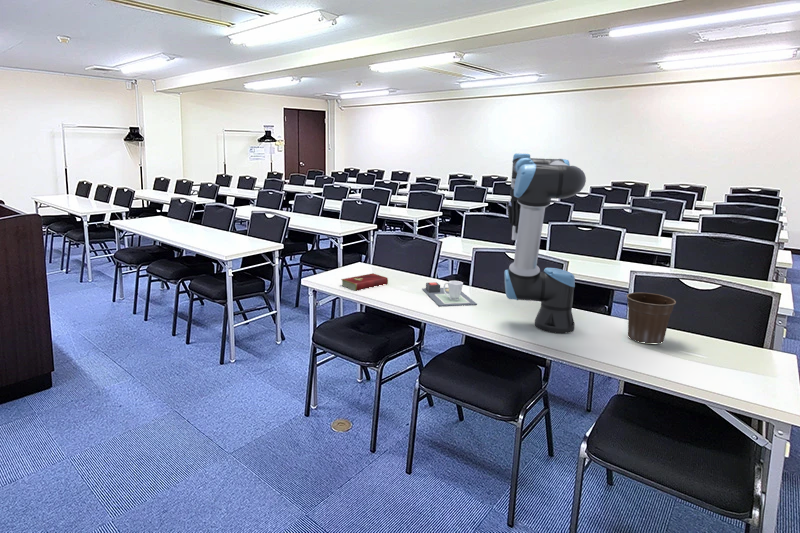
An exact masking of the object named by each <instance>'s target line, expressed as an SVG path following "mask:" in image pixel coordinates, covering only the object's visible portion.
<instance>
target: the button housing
mask: <svg viewBox="0 0 800 533" xmlns="http://www.w3.org/2000/svg"><path fill="white" fill-rule="evenodd" d="M429 283H430V282H426V283H425V288H426V290H427V291H428V292H429V293H434V292H440V288H441V284H440V283H439V282H437V281H436V283H437V284H438V285H429ZM432 283H434V282H432Z"/></svg>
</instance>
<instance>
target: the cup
mask: <svg viewBox="0 0 800 533" xmlns="http://www.w3.org/2000/svg"><path fill="white" fill-rule="evenodd" d="M463 284H464V282H462V281H459V280H448V282H445V283H444V284H443V286H442V288H443V291H444V293H445V294H446V295H447V297H449V298H450V299H451V300H454V301H457V300H459V297H460V294H461V291H462V290H463ZM446 285H448V287H447V288H449V295H450V296H448V294H447V293H446V292H445V288H446Z"/></svg>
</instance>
